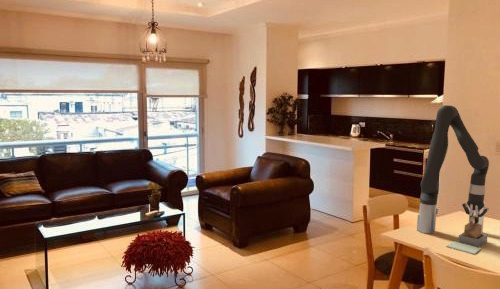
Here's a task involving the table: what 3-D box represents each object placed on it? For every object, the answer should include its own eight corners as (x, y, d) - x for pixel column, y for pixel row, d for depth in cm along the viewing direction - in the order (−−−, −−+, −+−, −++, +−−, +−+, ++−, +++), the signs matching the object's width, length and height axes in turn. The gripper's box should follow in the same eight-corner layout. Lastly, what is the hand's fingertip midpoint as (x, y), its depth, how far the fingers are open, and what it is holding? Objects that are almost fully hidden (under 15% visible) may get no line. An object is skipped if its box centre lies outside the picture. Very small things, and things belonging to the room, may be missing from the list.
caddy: (463, 235, 227) (465, 216, 225) (469, 232, 232) (471, 213, 231) (475, 238, 222) (477, 219, 221) (481, 235, 228) (482, 216, 226)
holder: (458, 242, 227) (459, 235, 227) (467, 236, 236) (467, 230, 235) (478, 247, 220) (479, 240, 219) (487, 241, 228) (487, 234, 227)
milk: (478, 234, 239) (481, 198, 236) (467, 231, 244) (470, 195, 241) (482, 232, 243) (485, 196, 240) (472, 229, 248) (475, 194, 244)
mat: (446, 246, 221) (446, 245, 221) (453, 242, 227) (453, 241, 227) (474, 254, 210) (474, 253, 210) (481, 249, 217) (481, 248, 217)
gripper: (460, 190, 226) (457, 221, 229) (488, 196, 216) (484, 227, 219) (466, 188, 231) (463, 218, 234) (493, 193, 221) (489, 224, 224)
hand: (473, 222), depth 226 cm, fingers closed on caddy, 1 cm apart
